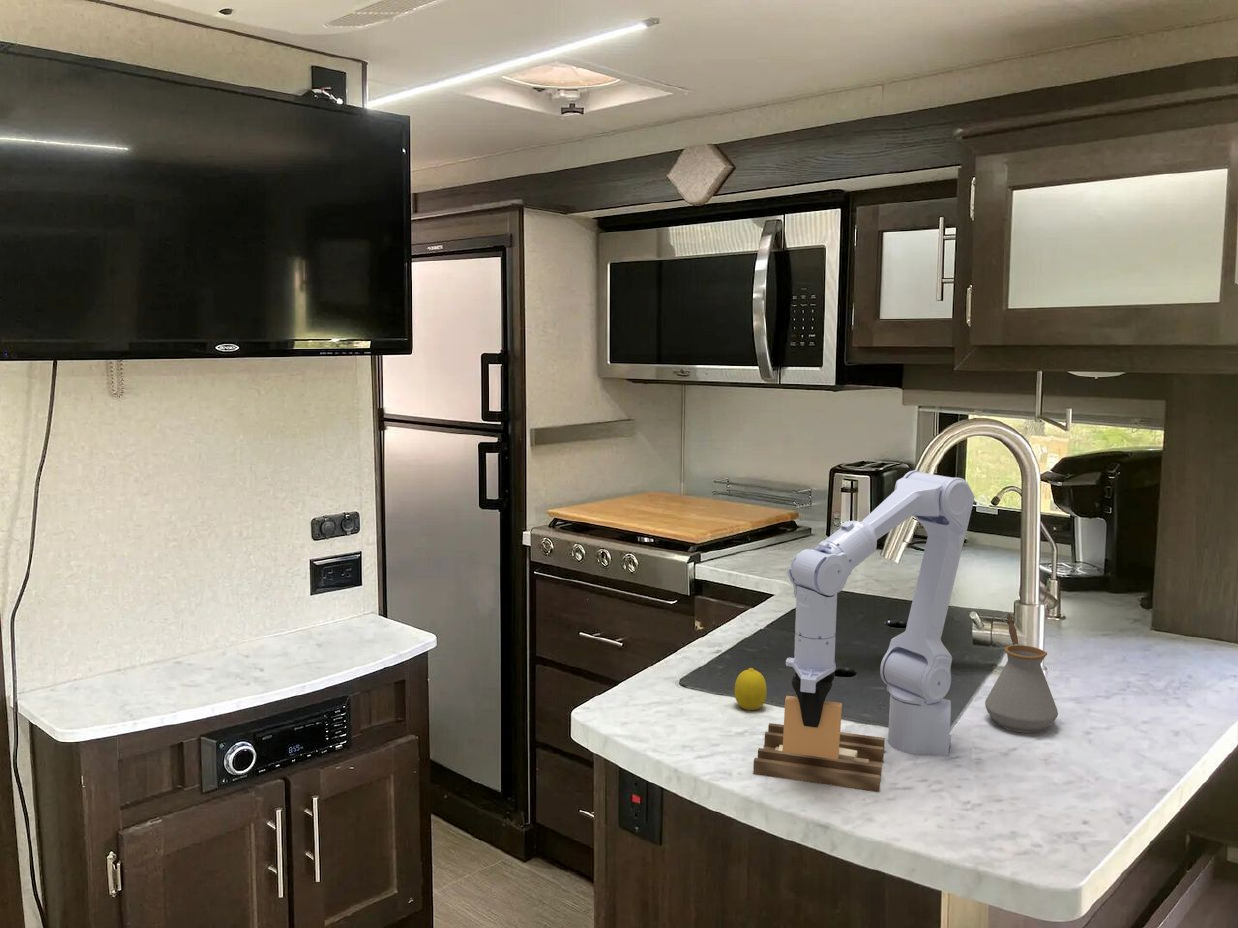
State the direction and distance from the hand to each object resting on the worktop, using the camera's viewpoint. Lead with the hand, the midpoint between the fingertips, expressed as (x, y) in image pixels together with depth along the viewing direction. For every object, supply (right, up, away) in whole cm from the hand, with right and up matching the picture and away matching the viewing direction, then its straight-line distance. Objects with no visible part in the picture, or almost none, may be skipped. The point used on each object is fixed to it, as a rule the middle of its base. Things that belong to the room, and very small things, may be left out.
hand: (811, 722), depth 144 cm
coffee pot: (+41, -6, +28) cm, 50 cm away
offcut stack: (+2, -7, +6) cm, 9 cm away
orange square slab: (0, -5, +1) cm, 5 cm away
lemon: (-5, -5, +27) cm, 28 cm away
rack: (+3, -8, +6) cm, 11 cm away
